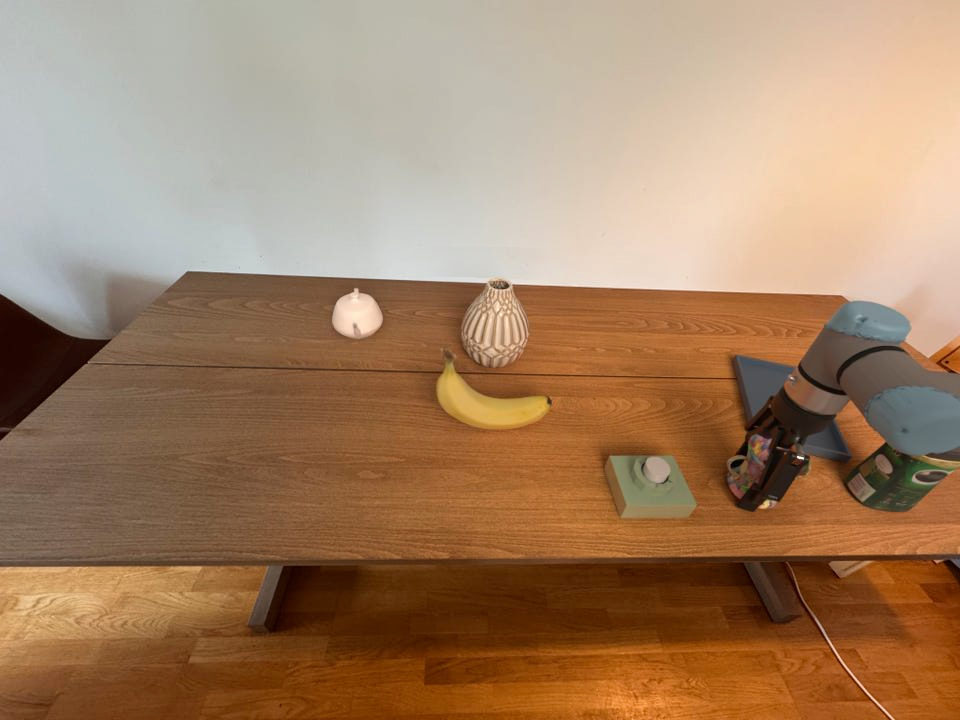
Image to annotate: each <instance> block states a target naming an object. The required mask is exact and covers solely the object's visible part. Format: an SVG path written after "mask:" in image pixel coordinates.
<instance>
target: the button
mask: <svg viewBox="0 0 960 720" xmlns="http://www.w3.org/2000/svg"><path fill="white" fill-rule="evenodd" d="M670 471H671V470H670V466H669V464H668V463H667V462H666V461H665V460H663V459H661V458H659V457H650V458H648V459H647V460H646V462H645V464H644V466H643V468H642V472H643V475H644V476H645V477H646V478H647V479H648V480H649V481H651V482H654V483H657V484H660V483H663V482H665V481H666V479H667V477H668V475H669V474H670Z"/></svg>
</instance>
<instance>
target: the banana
mask: <svg viewBox="0 0 960 720" xmlns="http://www.w3.org/2000/svg"><path fill="white" fill-rule="evenodd" d="M439 352H440V354H441V356H440V357H441V359H442V360H443V361H444V363H445V365H444V366H445V367H444V369H443V372H442V373H441V374H440V375H439V377H438V378H437V380H436V383H435V393H436V399H437V402H438V404H439V405H440V406H441V408H442V409H443V410H444V411H445V413H447V414H448V415H450V416H451V417H453V418H454V419H456V420H458V421H459V422H461V423H463V424H466V425H468V426H471V427H473V428H478V429H483V430H498V431H501V430H513V429H518V428H519V429H520V428H523V427H526V426H530V425H532V424H535V423H536V422H538V421H539V420H541V419H542V418H544V417H545V416H546V415H547V414H548V412H549V411H550V409H551V407H552V405H553V402H552V399H551V398H550V396H548V395H531V396H523V397H515V398H497V397H491V396H487V395H484V394H482V393H480V392H478V391H476V390H475V389H473V388H472V387H471V386H470V385H469V384H468V383H467V382H466V381H465V380H464V378H462V376H461V375H460V374H459V373H458V372H456V369H455V366H454V361H455V360H456V359H458V356H457V355H456V354H455V352H453V351H452V348H451V347H447V346H443V347H441V348H440V350H439Z"/></svg>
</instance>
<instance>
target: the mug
mask: <svg viewBox="0 0 960 720" xmlns="http://www.w3.org/2000/svg"><path fill="white" fill-rule="evenodd" d="M771 440H772V438H771V439H769V440H768V439H765V438H763V437H761V436H760V435H757V434H755V435H753V436H752V437H751V438H750V439H749V442H748V453H747V456H743V455H737V456H734V455H733V456H731V457H729V458H727V461H726V467H727V470H728V473H727V475H726V482H727V485H728V488H729V489H730V491H731V492H732V494H733V495H734V496H735V497H736V498H738V499H739V500H740V499H741V498H742V496H743V495H744V494H745V493H746V492H747V490H748V489H749V488H750V487H751V485H752V484H753V483H758V481H759V479H760V476H761V474H762V471H763V469H764V467H765V464H766V461H767V459H768V456H769V454H770V451H769V449H768V447H769V445H770V442H771ZM777 448H779V449H783V450H789V449H784V448H780V447H777ZM803 454H805V455H807V453H804V452H803ZM738 459H744V460H745V461H744V462H743V463H742V464H741V465H740V466H739V467H736V468H734V467H730V464H731V462H733V461H734V460H738ZM811 470H812V465H811V460H810V461H809V463H807V464H806V465H805V466H804V467H803V468H802V469H801V470H800V472H799V473H798V475H797V476H796V478H795V479H794V481H796V480H800V479H803V478H806V477H807V476H808V475H809V474H810V473H811ZM777 504H778V502H776V501H773V500H769V499H767V500H766V501H765V502H764V503H763V504H762V505H760V506H759V507H758V508H757V509H761V510H767V509H771V508H774V507H775V506H776V505H777Z"/></svg>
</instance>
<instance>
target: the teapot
mask: <svg viewBox="0 0 960 720" xmlns="http://www.w3.org/2000/svg"><path fill="white" fill-rule="evenodd" d="M383 320H384V315H383V312H382V310H381V308H380V306H379V305H378V303H377V301H376V300H375V298H373V297H372V296H371V295H369V294H367V293H364V292H363V293H362V292H360V290H359V288H357V287H353V292H351V293H349V294H348V293H347V294H345V295H343V296H341V297H339V299H337V301H336V303H335V305H334V308H333V312H332V317H331V324H332V326H333V328H334V330H335V331H336V332H337V333H339V335H342V336H344V337H346V338H350V339H353V340H354V339H355V340H357V339H358V340H361V339H365V338H368V337H370V336H372V335H374V334H375V333H376V332H377V331H379V329H380V328H381V326H382V325H383V322H384V321H383Z"/></svg>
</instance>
